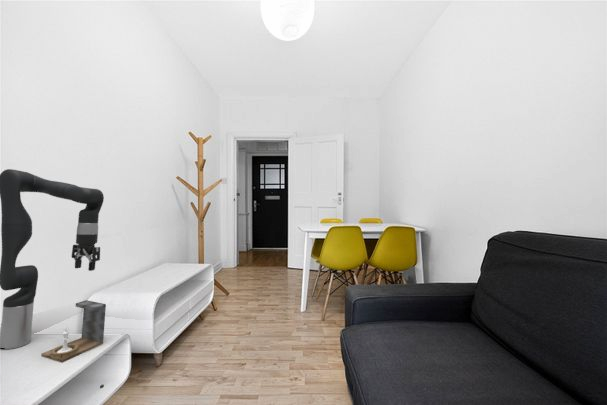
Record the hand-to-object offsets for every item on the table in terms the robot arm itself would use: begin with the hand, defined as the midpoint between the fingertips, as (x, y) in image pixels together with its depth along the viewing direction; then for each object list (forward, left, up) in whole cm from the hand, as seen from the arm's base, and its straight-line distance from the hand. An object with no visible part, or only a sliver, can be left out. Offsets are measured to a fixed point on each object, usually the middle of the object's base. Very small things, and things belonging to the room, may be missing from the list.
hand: (84, 269), depth 121 cm
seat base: (+4, -5, -33) cm, 33 cm away
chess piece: (+5, -9, -32) cm, 33 cm away
